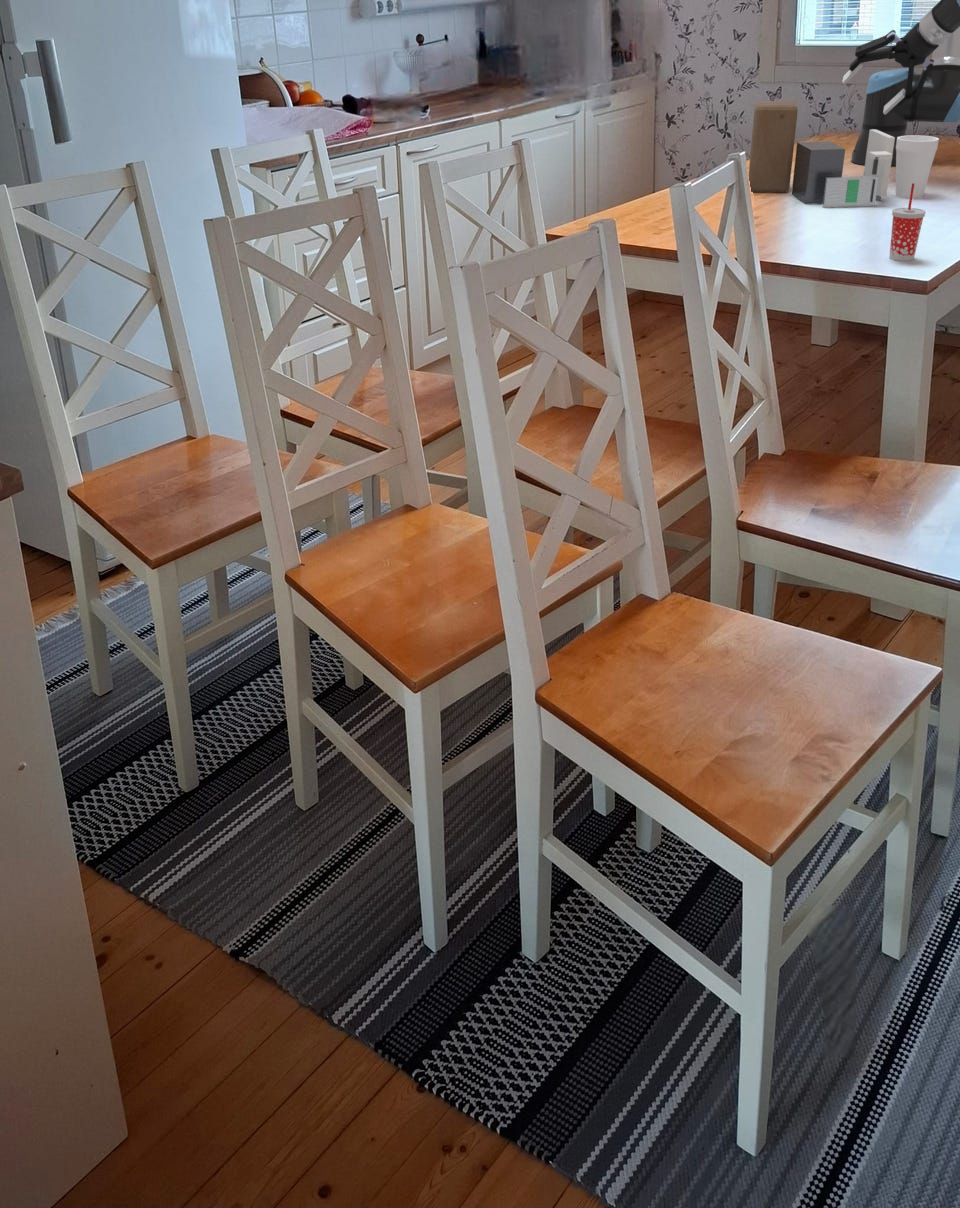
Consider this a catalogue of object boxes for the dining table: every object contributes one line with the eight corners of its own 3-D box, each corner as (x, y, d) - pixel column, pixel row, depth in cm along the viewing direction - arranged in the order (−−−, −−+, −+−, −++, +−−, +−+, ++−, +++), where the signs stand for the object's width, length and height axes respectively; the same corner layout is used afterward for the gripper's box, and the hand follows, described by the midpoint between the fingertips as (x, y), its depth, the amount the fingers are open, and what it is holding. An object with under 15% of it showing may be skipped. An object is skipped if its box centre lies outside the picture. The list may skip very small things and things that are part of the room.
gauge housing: (866, 192, 287) (873, 140, 281) (889, 205, 273) (898, 151, 267) (791, 194, 287) (797, 142, 281) (811, 208, 272) (817, 153, 266)
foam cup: (900, 190, 288) (909, 134, 282) (936, 195, 282) (946, 137, 276) (881, 196, 282) (889, 138, 276) (917, 201, 277) (926, 142, 270)
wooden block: (789, 193, 288) (798, 105, 278) (747, 192, 290) (755, 105, 280) (787, 185, 296) (796, 100, 286) (747, 185, 298) (755, 100, 288)
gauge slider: (868, 186, 287) (875, 129, 281) (892, 199, 272) (901, 140, 266) (845, 186, 287) (853, 130, 280) (868, 200, 272) (877, 140, 266)
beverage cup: (909, 263, 226) (922, 187, 219) (879, 258, 230) (890, 184, 223) (923, 257, 230) (935, 182, 223) (893, 252, 234) (904, 179, 227)
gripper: (888, 12, 272) (824, 76, 290) (966, 73, 280) (900, 132, 297) (891, -7, 276) (828, 58, 294) (968, 53, 283) (902, 113, 301)
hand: (864, 95), depth 295 cm, fingers open, 13 cm apart
